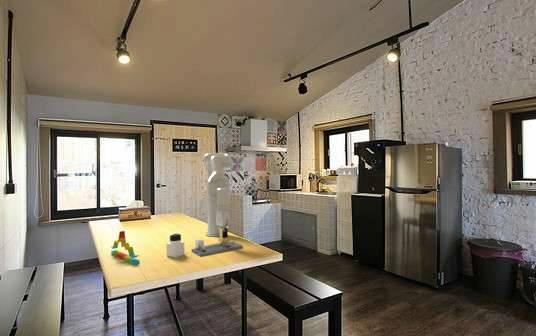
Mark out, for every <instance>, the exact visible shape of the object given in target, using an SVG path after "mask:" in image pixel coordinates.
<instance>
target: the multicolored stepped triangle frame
mask: <svg viewBox="0 0 536 336" xmlns="http://www.w3.org/2000/svg"><path fill="white" fill-rule="evenodd" d="M119 243H120V245H121V248H124V249H125V251H127V252H128V254H126V253H124V252H123V251H120V250H117V249H118V247H119ZM110 248H111V249H112V250H111V251H110V252H111V255H113V256H115V257H117V258H119V259H121V260H123V261H125V262H127V263H129V264H131V265H133V266H134V265H138V264H140V259H138V257H139V256H140V255H139V254H137V255H135V251H134V248H133V246H130V244H129V242H127V240H126V232H125V230H121V231H119V234H118V238H117V240H114V241H113V246H111V247H110Z"/></svg>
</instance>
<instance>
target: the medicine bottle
mask: <svg viewBox="0 0 536 336" xmlns="http://www.w3.org/2000/svg"><path fill="white" fill-rule="evenodd" d="M185 253H186V252H185V242H183V241H182V235H181V233H172V234H170V235H169V242H167V243H166V257H171V258H178V257H181V256H184V255H185Z"/></svg>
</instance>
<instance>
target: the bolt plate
mask: <svg viewBox="0 0 536 336" xmlns="http://www.w3.org/2000/svg"><path fill="white" fill-rule="evenodd" d="M243 247H244V246H243V244H240V243H238V242H235V240H232V239H231V240H229V246H228V244H226V243H220V242H216V243H211V244H205V241H204V240H203V239H196V240H195V247H194V248H192V249H191V252H192V253H193V254H195V255H196V256H199V257H204V256H209V255H215V254H218V253H219V254H220V253H224V252H229V251H234V250H238V249H243Z"/></svg>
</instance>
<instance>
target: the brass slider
mask: <svg viewBox="0 0 536 336" xmlns="http://www.w3.org/2000/svg"><path fill="white" fill-rule="evenodd" d="M225 228H226V227H225ZM217 240H218V241H217V243H226V244H228V246H229V241H230V238H228V237H227V238H223V227H220V236H219V238H218V239H217Z"/></svg>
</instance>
